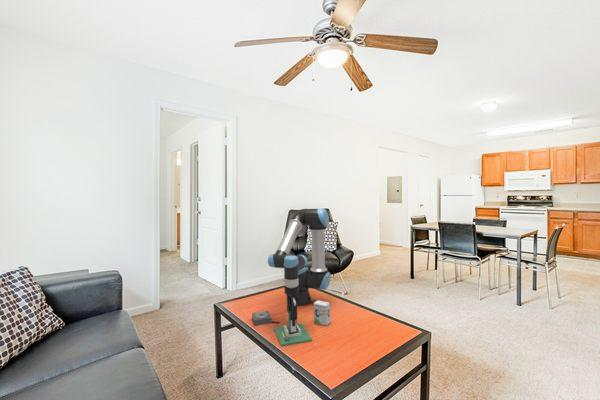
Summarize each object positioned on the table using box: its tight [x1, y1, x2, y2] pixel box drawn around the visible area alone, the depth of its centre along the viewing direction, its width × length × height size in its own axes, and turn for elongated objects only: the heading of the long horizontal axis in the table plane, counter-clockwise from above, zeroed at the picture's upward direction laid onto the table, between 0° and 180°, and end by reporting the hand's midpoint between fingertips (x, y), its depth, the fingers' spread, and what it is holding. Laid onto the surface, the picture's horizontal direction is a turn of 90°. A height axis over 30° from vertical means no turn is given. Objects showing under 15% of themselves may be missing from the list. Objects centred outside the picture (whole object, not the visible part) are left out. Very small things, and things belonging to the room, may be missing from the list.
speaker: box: [251, 310, 273, 326], centre depth 165 cm, size 10×10×4 cm
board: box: [274, 322, 313, 347], centre depth 148 cm, size 16×18×4 cm
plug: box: [286, 310, 298, 333], centre depth 147 cm, size 5×4×10 cm
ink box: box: [313, 299, 331, 326], centre depth 161 cm, size 9×5×12 cm, turn 62°
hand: (292, 329), depth 148 cm, fingers closed on plug, 4 cm apart
